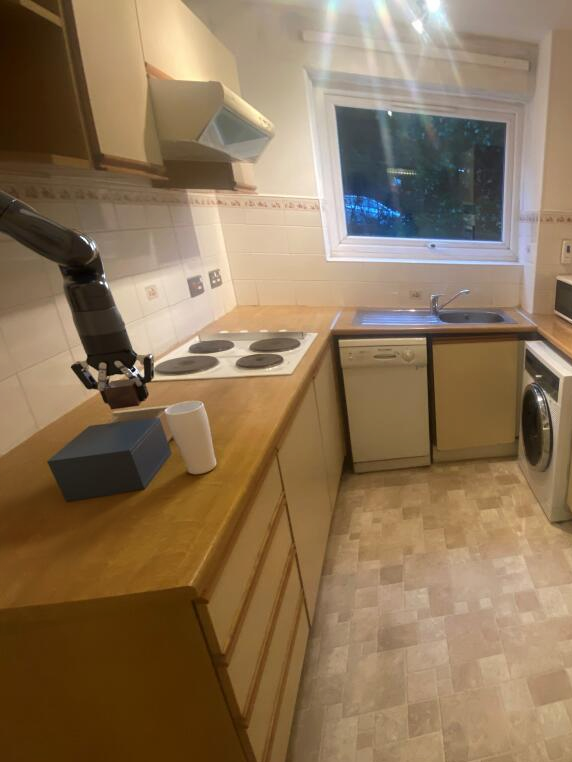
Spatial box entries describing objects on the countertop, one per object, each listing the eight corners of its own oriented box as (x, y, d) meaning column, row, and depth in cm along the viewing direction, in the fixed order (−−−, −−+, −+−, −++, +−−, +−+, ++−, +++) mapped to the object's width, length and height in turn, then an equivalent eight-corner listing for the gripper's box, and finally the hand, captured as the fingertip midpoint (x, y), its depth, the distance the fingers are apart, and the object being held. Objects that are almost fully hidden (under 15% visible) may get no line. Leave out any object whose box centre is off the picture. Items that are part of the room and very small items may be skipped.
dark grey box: (104, 462, 97) (89, 425, 94) (171, 452, 101) (159, 417, 97) (66, 502, 84) (46, 461, 81) (144, 489, 88) (129, 450, 84)
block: (110, 409, 95) (102, 388, 93) (118, 401, 99) (111, 380, 97) (139, 405, 97) (131, 385, 95) (145, 397, 101) (138, 377, 99)
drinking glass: (180, 480, 91) (158, 416, 85) (189, 463, 97) (169, 403, 91) (217, 473, 93) (199, 411, 88) (224, 457, 99) (206, 398, 93)
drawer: (132, 430, 109) (122, 404, 106) (186, 424, 112) (178, 398, 109) (95, 468, 93) (83, 438, 90) (159, 459, 97) (149, 430, 94)
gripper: (48, 337, 85) (80, 414, 92) (138, 329, 91) (163, 403, 97) (65, 328, 92) (94, 401, 98) (148, 321, 97) (171, 391, 104)
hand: (128, 401), depth 98 cm, fingers closed on block, 5 cm apart
